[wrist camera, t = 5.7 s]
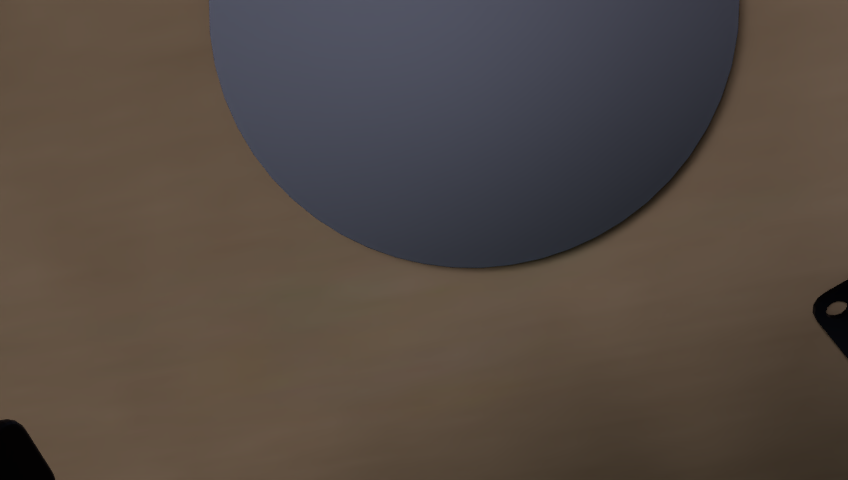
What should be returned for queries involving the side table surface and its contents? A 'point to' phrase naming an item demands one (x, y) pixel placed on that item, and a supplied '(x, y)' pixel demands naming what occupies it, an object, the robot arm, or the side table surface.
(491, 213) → the coaster
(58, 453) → the side table surface
